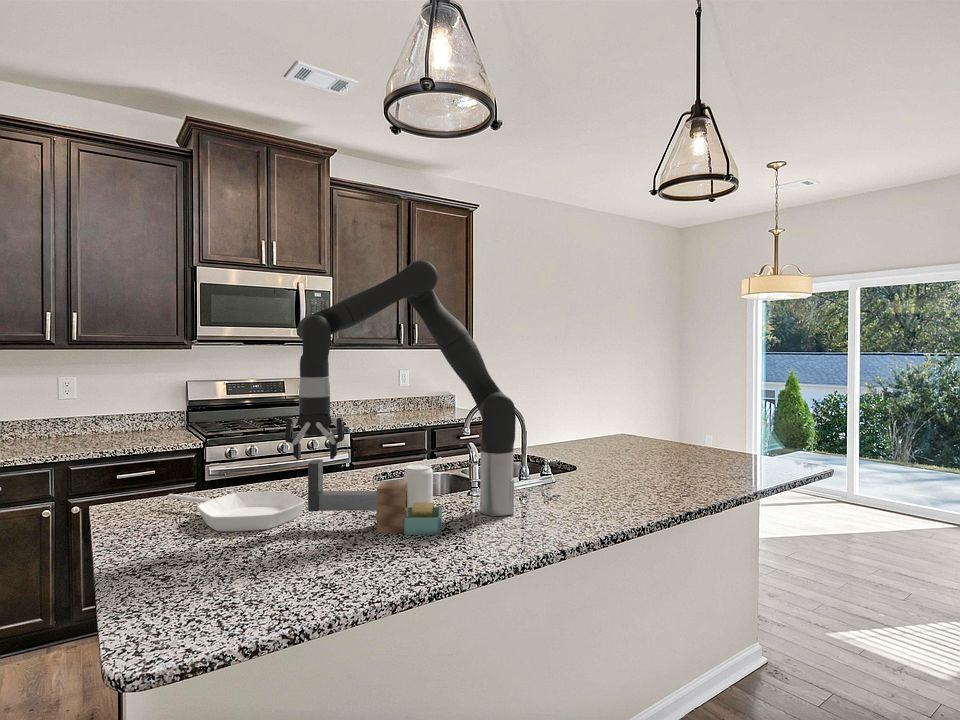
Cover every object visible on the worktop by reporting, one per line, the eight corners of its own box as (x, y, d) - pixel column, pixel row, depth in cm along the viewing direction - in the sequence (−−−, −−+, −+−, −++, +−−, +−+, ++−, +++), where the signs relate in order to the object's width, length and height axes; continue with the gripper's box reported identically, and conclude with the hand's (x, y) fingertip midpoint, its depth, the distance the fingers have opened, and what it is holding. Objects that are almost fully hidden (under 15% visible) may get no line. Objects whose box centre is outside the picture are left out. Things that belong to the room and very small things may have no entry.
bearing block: (407, 523, 157) (407, 481, 156) (405, 532, 149) (405, 488, 148) (380, 523, 156) (380, 481, 156) (376, 532, 148) (376, 488, 148)
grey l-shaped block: (395, 505, 155) (395, 459, 155) (393, 511, 150) (393, 463, 150) (312, 506, 154) (312, 459, 154) (308, 511, 149) (308, 463, 149)
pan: (253, 541, 142) (253, 522, 142) (126, 521, 156) (125, 504, 156) (321, 510, 168) (321, 495, 168) (207, 496, 182) (207, 482, 182)
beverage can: (428, 513, 166) (428, 470, 166) (400, 511, 168) (400, 468, 167) (436, 505, 174) (436, 464, 174) (409, 503, 176) (409, 463, 175)
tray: (442, 521, 159) (442, 506, 158) (441, 534, 148) (441, 518, 147) (408, 521, 158) (408, 506, 158) (404, 534, 147) (404, 518, 147)
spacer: (414, 521, 155) (433, 521, 155) (412, 527, 150) (431, 527, 150) (414, 502, 155) (433, 502, 155) (412, 507, 150) (431, 508, 150)
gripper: (345, 393, 155) (346, 455, 155) (290, 393, 154) (290, 456, 155) (340, 395, 147) (340, 461, 148) (281, 396, 147) (282, 462, 147)
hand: (315, 458), depth 151 cm, fingers open, 8 cm apart
